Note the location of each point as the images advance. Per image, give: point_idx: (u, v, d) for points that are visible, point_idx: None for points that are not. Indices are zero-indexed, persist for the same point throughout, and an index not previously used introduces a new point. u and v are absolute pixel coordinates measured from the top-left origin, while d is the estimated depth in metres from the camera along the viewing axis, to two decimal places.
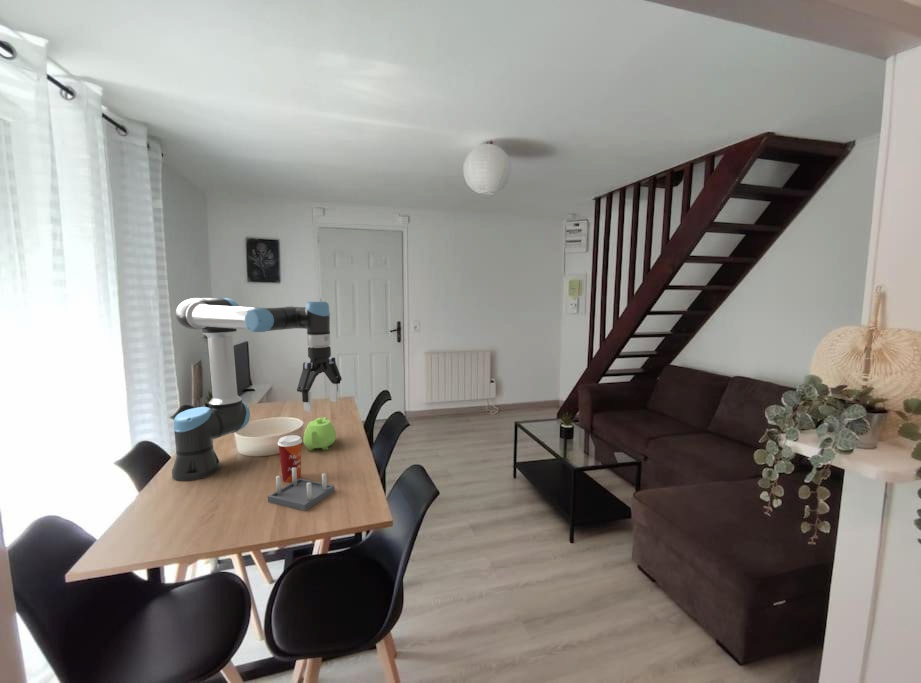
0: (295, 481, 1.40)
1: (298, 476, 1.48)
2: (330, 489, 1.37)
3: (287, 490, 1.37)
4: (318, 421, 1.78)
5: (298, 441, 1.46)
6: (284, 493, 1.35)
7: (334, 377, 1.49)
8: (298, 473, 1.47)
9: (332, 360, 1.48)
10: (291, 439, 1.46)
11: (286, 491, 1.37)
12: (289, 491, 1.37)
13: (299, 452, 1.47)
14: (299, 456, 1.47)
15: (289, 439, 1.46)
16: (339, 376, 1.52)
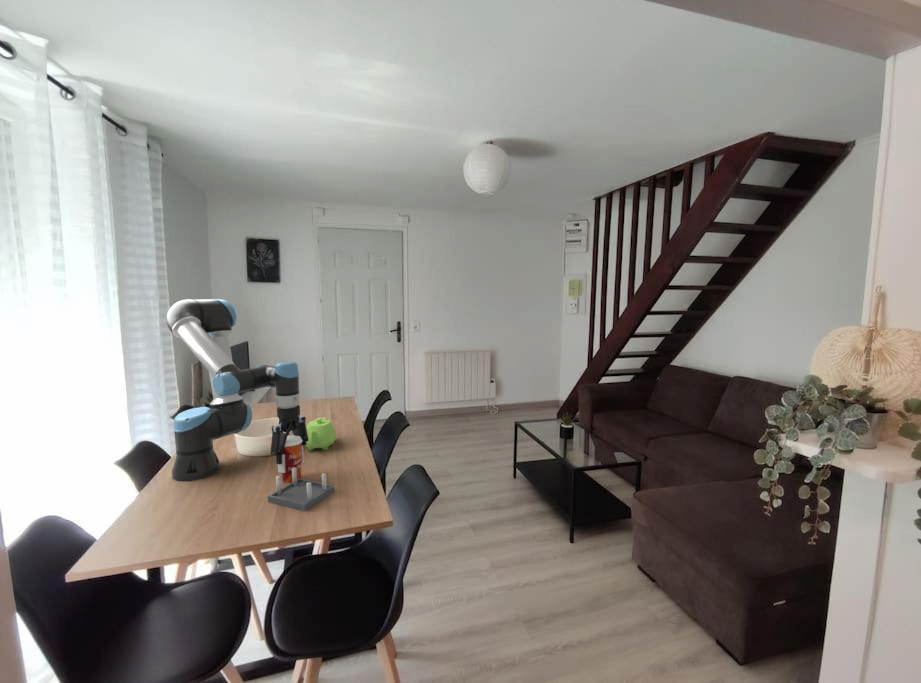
0: (295, 481, 1.40)
1: (298, 476, 1.48)
2: (330, 489, 1.37)
3: (287, 490, 1.37)
4: (318, 421, 1.78)
5: (298, 441, 1.46)
6: (284, 493, 1.35)
7: (301, 438, 1.51)
8: (298, 473, 1.47)
9: (302, 419, 1.51)
10: (291, 439, 1.46)
11: (286, 491, 1.37)
12: (289, 491, 1.37)
13: (299, 452, 1.47)
14: (299, 456, 1.47)
15: (289, 439, 1.46)
16: (306, 436, 1.53)
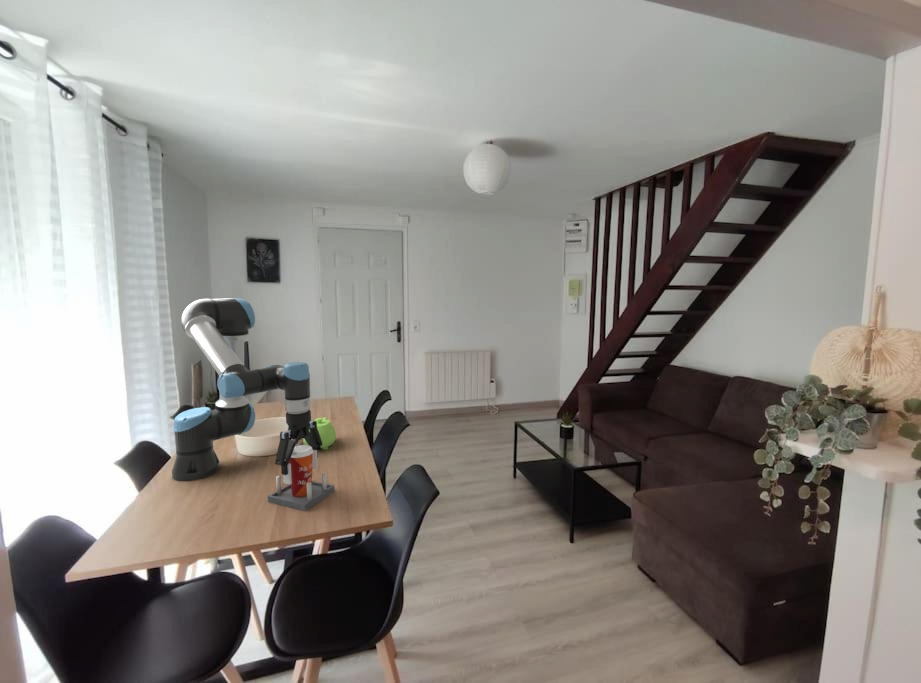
0: None
1: None
2: (330, 489, 1.37)
3: (287, 490, 1.37)
4: (318, 421, 1.78)
5: (309, 451, 1.33)
6: (284, 493, 1.35)
7: (314, 443, 1.38)
8: None
9: (313, 424, 1.38)
10: (301, 449, 1.33)
11: (286, 491, 1.37)
12: (289, 491, 1.37)
13: (310, 464, 1.34)
14: (310, 468, 1.34)
15: (299, 449, 1.33)
16: (320, 441, 1.41)
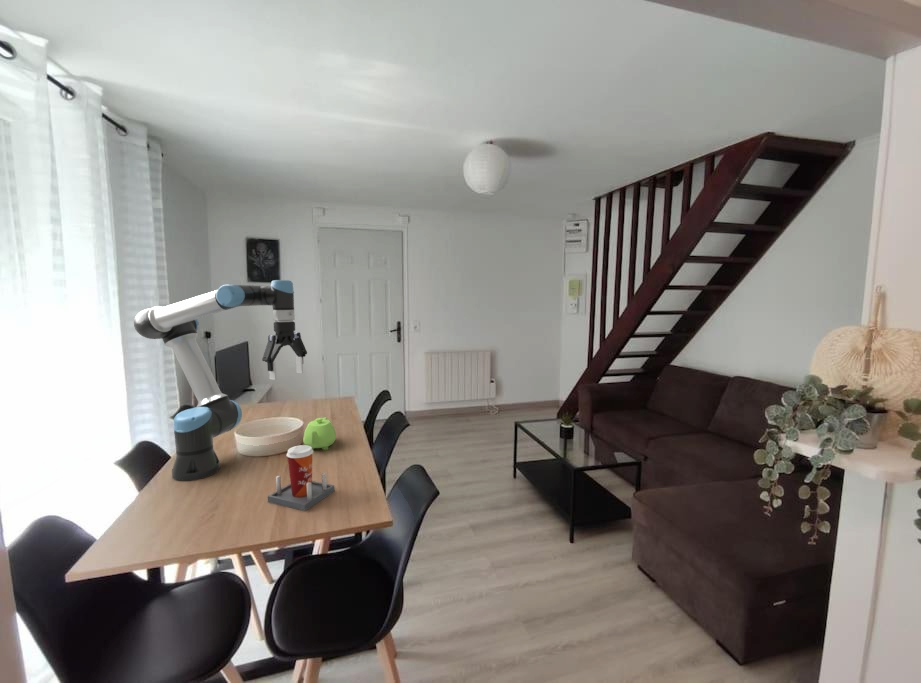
0: None
1: None
2: (330, 489, 1.37)
3: (287, 490, 1.37)
4: (318, 421, 1.78)
5: (309, 452, 1.33)
6: (284, 493, 1.35)
7: (299, 350, 1.63)
8: None
9: (297, 335, 1.62)
10: (301, 450, 1.33)
11: (286, 491, 1.37)
12: (289, 491, 1.37)
13: (310, 464, 1.34)
14: (310, 468, 1.34)
15: (299, 450, 1.33)
16: (304, 350, 1.66)
